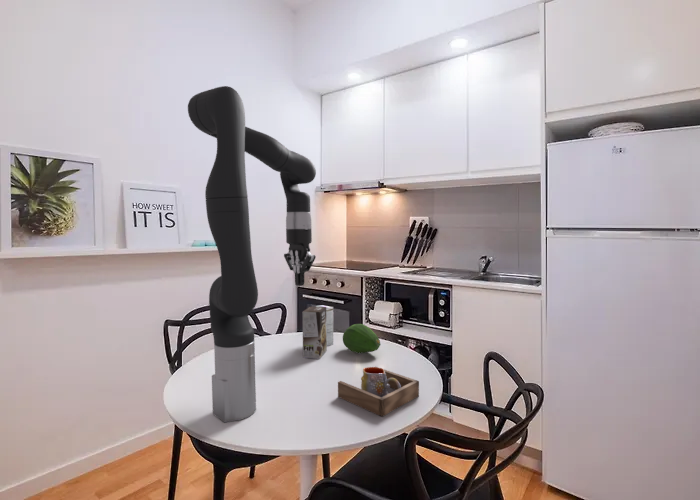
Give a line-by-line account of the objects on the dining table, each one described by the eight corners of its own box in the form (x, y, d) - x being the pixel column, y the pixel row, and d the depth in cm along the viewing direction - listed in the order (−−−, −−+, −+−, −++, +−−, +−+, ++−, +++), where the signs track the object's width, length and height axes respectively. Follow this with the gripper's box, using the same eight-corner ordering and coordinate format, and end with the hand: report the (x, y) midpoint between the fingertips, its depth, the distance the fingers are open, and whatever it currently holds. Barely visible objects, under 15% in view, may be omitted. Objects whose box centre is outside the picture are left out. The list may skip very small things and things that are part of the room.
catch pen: (382, 416, 89) (382, 400, 88) (338, 396, 99) (337, 381, 99) (418, 396, 99) (418, 381, 99) (375, 380, 110) (375, 366, 109)
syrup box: (312, 345, 143) (311, 307, 142) (323, 341, 147) (322, 304, 146) (323, 348, 139) (322, 309, 138) (334, 344, 144) (333, 306, 143)
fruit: (387, 355, 131) (386, 326, 130) (366, 362, 124) (365, 332, 124) (357, 345, 142) (357, 318, 142) (337, 350, 136) (336, 323, 135)
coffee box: (320, 359, 127) (319, 311, 126) (302, 358, 129) (301, 311, 128) (327, 350, 136) (327, 306, 135) (310, 349, 138) (309, 305, 137)
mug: (355, 394, 101) (355, 370, 100) (372, 386, 106) (371, 363, 105) (392, 409, 93) (391, 382, 92) (408, 399, 98) (407, 374, 97)
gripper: (275, 227, 115) (276, 284, 116) (302, 227, 106) (303, 289, 107) (295, 227, 120) (296, 281, 121) (322, 227, 111) (323, 286, 112)
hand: (299, 285), depth 114 cm, fingers closed
